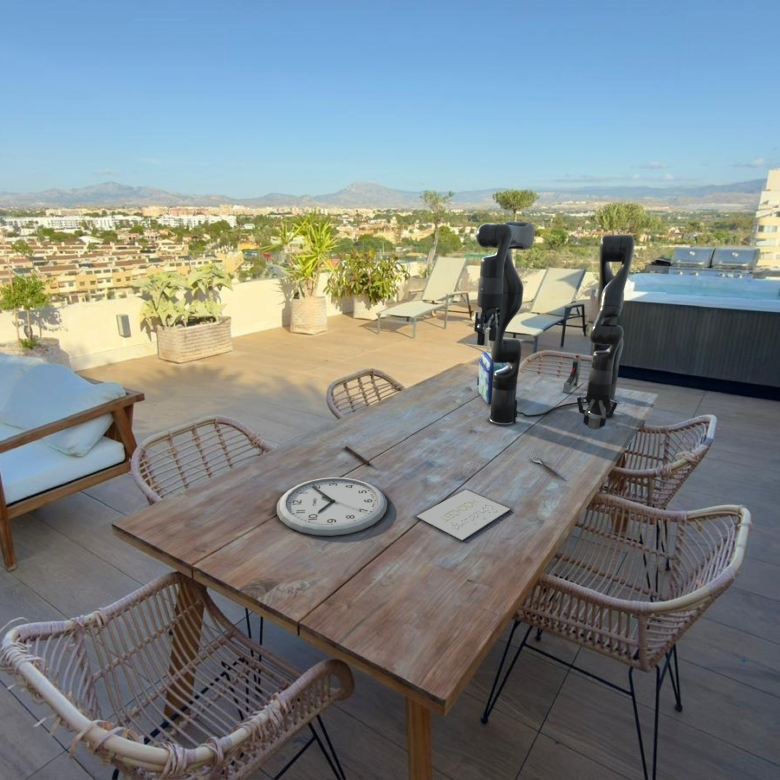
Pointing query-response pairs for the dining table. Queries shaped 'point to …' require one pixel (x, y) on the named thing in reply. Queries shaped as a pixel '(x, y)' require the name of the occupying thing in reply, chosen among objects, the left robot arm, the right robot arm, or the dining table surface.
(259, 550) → the dining table surface
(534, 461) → the fork
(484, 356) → the lunch box
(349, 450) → the dark brown stick
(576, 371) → the toy gun
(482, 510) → the invitation card
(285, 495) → the wall clock
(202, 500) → the dining table surface
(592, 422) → the tin
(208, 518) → the dining table surface
